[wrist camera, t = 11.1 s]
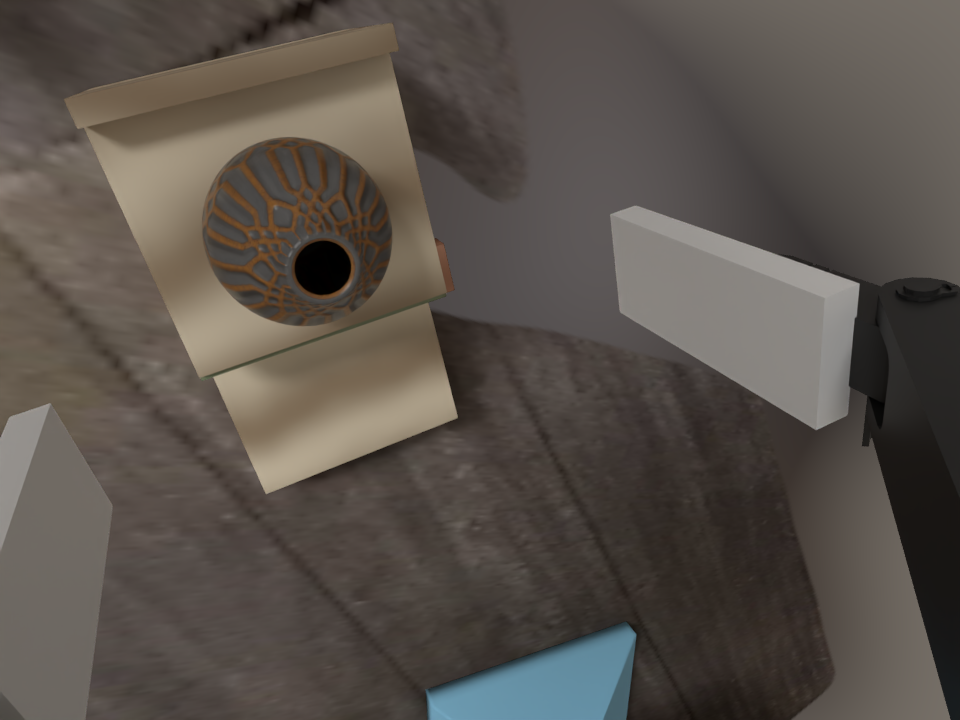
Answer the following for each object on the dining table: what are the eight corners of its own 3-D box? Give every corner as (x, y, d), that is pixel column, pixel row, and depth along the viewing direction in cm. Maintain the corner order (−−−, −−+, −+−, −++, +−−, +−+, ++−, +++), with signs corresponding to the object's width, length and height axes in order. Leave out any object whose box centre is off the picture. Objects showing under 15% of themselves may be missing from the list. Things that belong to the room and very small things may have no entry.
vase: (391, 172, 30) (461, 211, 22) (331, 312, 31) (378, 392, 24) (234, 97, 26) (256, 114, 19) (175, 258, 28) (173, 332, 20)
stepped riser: (93, 87, 31) (63, 99, 23) (350, 28, 34) (402, 20, 26) (259, 462, 42) (279, 560, 34) (445, 391, 45) (503, 465, 37)
